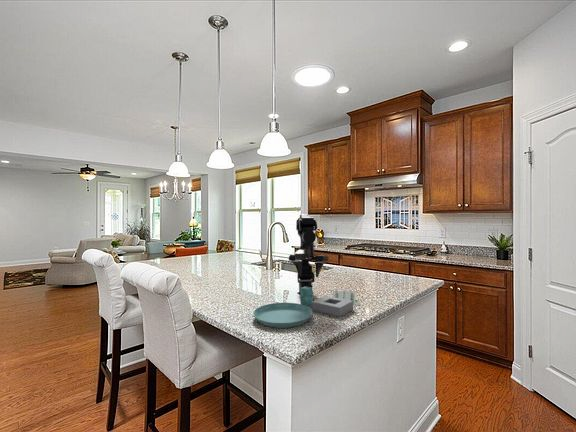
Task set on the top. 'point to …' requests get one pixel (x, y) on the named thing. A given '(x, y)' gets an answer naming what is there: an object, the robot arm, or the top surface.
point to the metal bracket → (346, 296)
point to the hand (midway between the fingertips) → (308, 276)
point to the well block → (332, 306)
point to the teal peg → (306, 296)
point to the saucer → (282, 314)
